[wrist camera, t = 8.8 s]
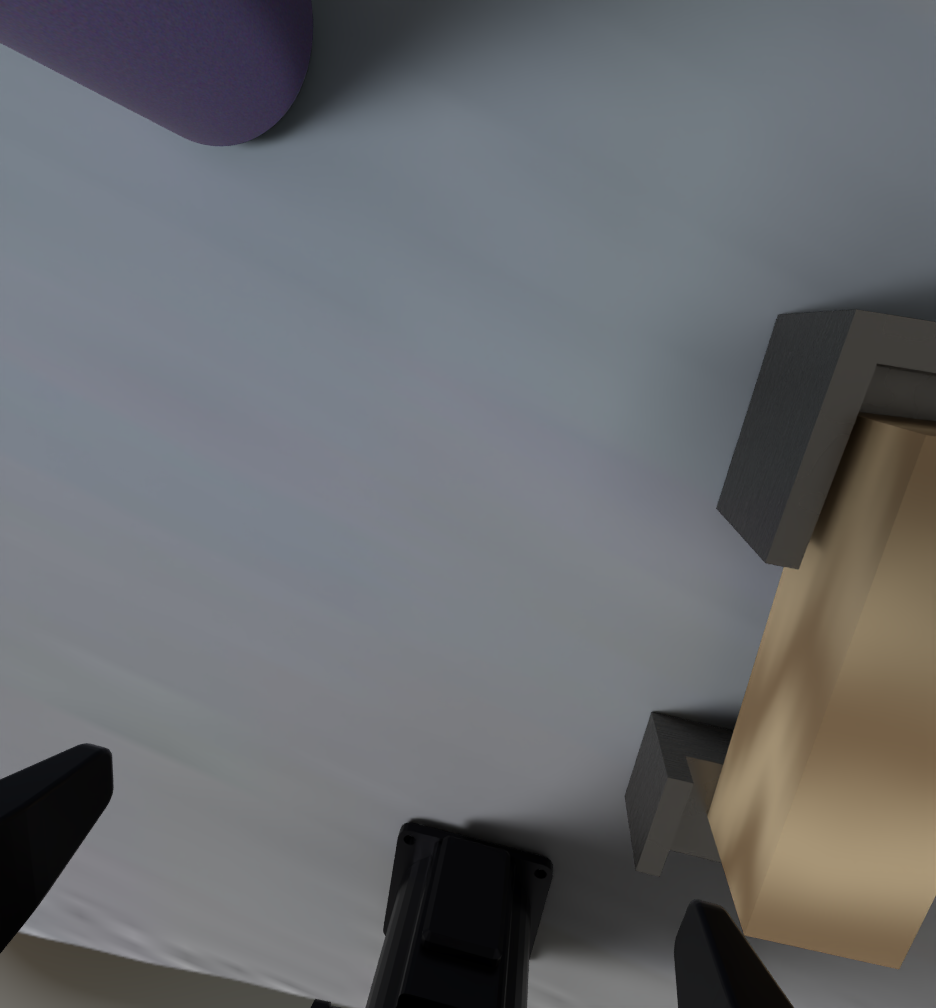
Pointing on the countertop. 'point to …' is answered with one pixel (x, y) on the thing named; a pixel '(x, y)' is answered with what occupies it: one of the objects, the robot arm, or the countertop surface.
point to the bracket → (819, 417)
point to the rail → (844, 718)
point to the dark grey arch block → (674, 791)
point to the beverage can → (175, 57)
